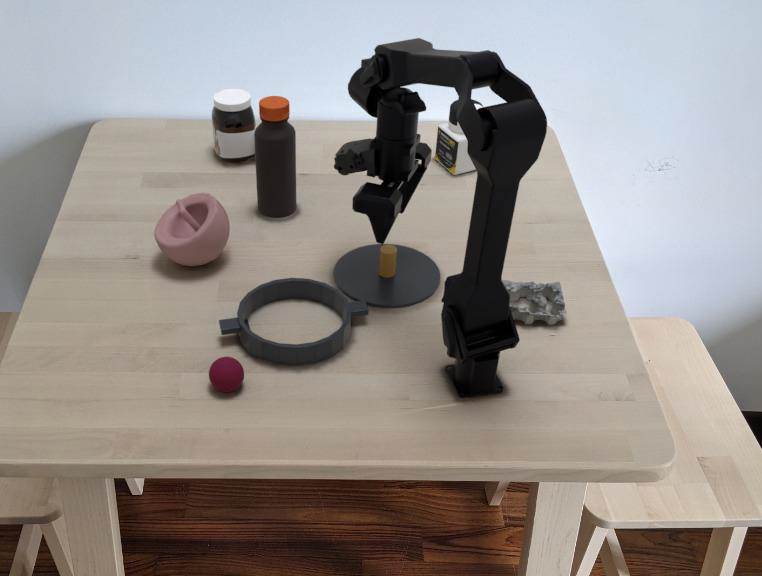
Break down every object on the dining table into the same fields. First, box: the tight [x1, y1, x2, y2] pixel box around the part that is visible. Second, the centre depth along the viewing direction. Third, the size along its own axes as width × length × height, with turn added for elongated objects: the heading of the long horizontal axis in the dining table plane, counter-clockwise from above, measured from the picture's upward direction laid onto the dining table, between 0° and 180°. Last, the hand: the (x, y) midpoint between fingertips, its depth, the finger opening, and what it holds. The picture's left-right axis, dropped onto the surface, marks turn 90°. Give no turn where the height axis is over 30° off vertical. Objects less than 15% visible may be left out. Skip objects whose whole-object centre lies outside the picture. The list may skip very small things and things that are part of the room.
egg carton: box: [502, 279, 567, 326], centre depth 136 cm, size 11×8×4 cm
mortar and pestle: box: [153, 192, 231, 267], centre depth 145 cm, size 12×12×12 cm
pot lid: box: [333, 243, 441, 309], centre depth 142 cm, size 17×17×6 cm
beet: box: [208, 356, 245, 393], centre depth 124 cm, size 5×5×5 cm
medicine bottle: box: [434, 99, 484, 176], centre depth 168 cm, size 7×7×12 cm
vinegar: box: [254, 95, 297, 219], centre depth 153 cm, size 7×7×20 cm
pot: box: [218, 277, 370, 367], centre depth 133 cm, size 16×22×4 cm
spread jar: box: [211, 88, 257, 164], centre depth 171 cm, size 12×11×12 cm
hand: (390, 227), depth 138 cm, fingers open, 9 cm apart
